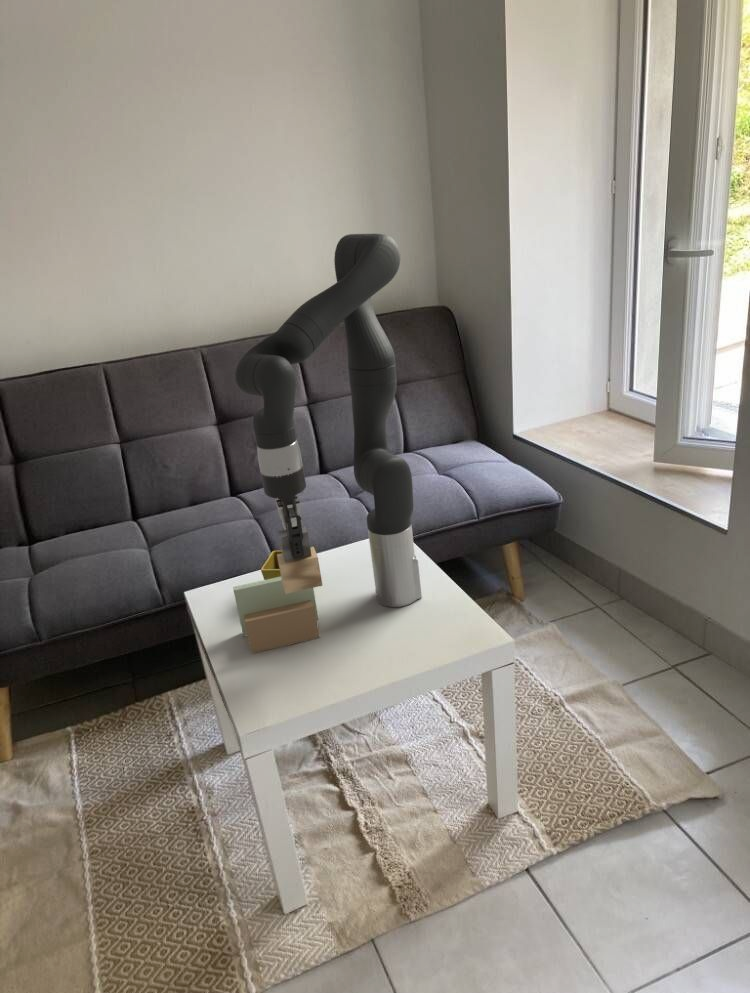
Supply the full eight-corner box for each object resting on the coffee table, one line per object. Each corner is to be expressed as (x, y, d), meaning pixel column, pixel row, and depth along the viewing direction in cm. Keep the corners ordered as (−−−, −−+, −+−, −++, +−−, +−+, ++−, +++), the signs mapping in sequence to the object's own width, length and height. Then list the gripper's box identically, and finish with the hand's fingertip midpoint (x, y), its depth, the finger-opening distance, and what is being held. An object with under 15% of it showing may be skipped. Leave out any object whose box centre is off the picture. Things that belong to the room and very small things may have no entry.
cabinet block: (318, 574, 151) (309, 522, 146) (322, 585, 146) (313, 532, 142) (282, 582, 149) (272, 530, 145) (285, 593, 145) (275, 540, 141)
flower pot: (304, 605, 173) (298, 569, 169) (266, 605, 175) (259, 569, 171) (315, 584, 180) (309, 550, 177) (279, 584, 182) (272, 550, 179)
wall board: (317, 615, 168) (309, 570, 164) (324, 636, 160) (316, 589, 156) (242, 632, 165) (233, 587, 161) (246, 654, 158) (236, 607, 153)
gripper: (308, 475, 133) (323, 565, 140) (296, 449, 145) (310, 533, 152) (264, 484, 132) (281, 574, 138) (256, 457, 144) (272, 541, 151)
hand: (296, 552), depth 145 cm, fingers closed on cabinet block, 2 cm apart
